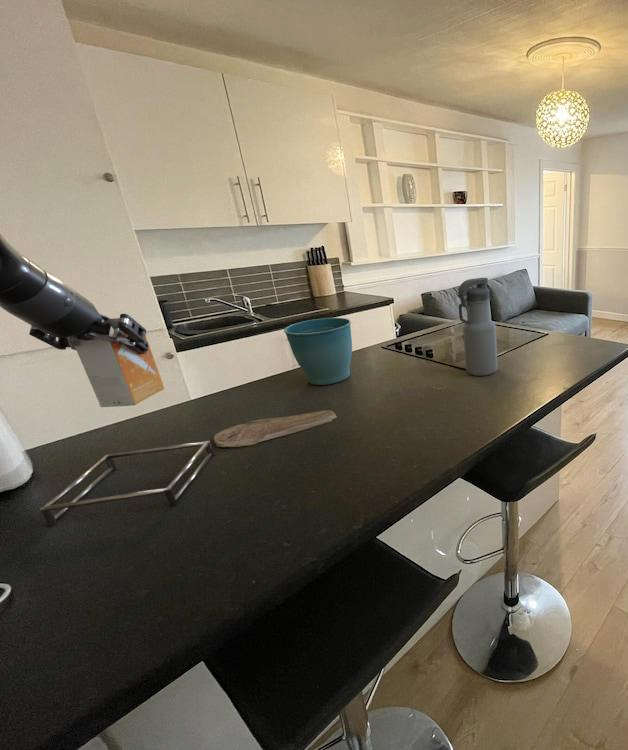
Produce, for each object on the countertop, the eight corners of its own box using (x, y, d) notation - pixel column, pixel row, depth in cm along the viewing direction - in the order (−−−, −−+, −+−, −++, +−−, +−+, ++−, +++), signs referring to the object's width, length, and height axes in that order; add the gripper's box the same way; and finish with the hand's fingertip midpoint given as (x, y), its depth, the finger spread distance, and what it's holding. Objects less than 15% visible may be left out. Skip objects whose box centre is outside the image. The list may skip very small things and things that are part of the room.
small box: (135, 406, 75) (108, 338, 70) (99, 408, 75) (69, 340, 70) (166, 388, 83) (143, 326, 78) (134, 390, 82) (109, 327, 78)
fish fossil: (329, 405, 107) (329, 401, 107) (339, 423, 100) (338, 419, 99) (213, 434, 94) (212, 430, 94) (214, 456, 87) (213, 452, 86)
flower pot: (286, 381, 125) (273, 327, 118) (341, 364, 137) (331, 314, 131) (315, 395, 114) (301, 337, 107) (371, 375, 126) (362, 322, 120)
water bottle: (473, 379, 120) (467, 283, 109) (459, 369, 128) (452, 279, 117) (503, 372, 125) (500, 279, 114) (488, 363, 132) (483, 275, 122)
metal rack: (47, 526, 68) (37, 509, 67) (112, 469, 83) (105, 454, 82) (175, 506, 72) (168, 489, 70) (215, 454, 87) (210, 439, 86)
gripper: (104, 278, 65) (168, 331, 80) (-5, 285, 62) (82, 337, 77) (95, 319, 62) (162, 365, 77) (-20, 327, 59) (73, 373, 74)
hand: (122, 351), depth 77 cm, fingers closed on small box, 7 cm apart
